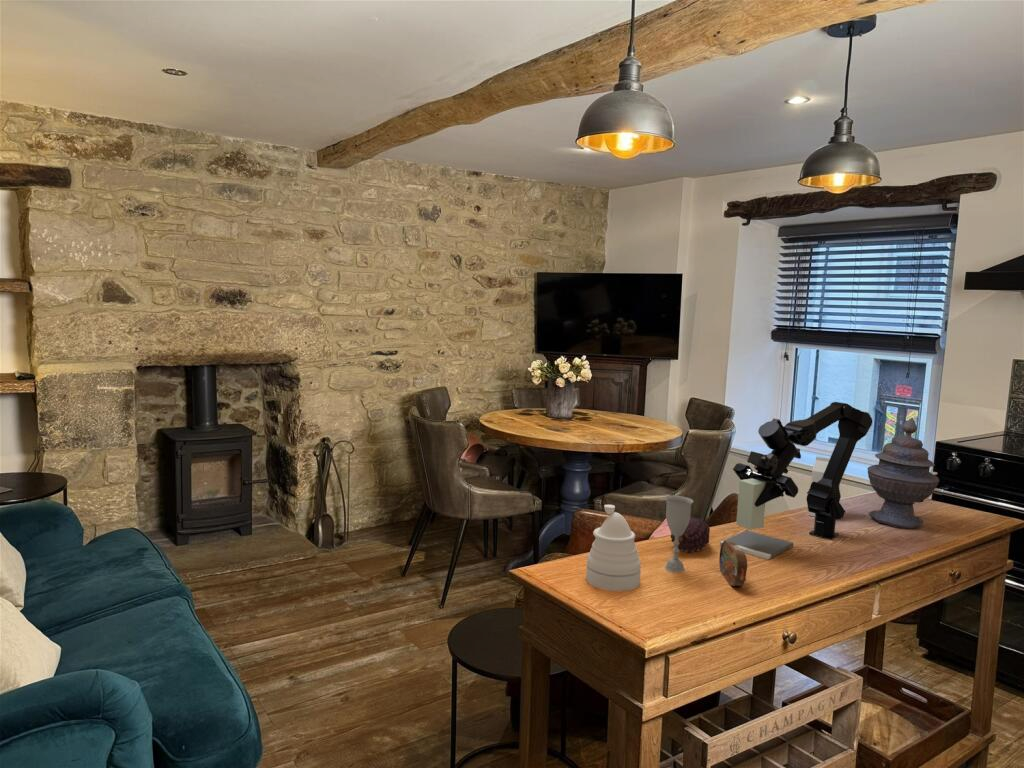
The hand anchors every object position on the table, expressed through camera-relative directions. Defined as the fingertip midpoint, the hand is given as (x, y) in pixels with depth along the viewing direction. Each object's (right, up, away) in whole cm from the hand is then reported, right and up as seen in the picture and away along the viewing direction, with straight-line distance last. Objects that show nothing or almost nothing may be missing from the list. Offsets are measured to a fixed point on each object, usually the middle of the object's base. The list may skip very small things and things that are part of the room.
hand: (747, 503), depth 192 cm
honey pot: (-40, -15, -22) cm, 48 cm away
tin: (-10, -16, -19) cm, 27 cm away
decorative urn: (+59, -12, +33) cm, 68 cm away
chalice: (-23, -15, -13) cm, 30 cm away
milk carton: (+37, -11, +37) cm, 53 cm away
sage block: (+1, -7, +1) cm, 7 cm away
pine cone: (-15, -13, +2) cm, 20 cm away
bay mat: (+4, -13, +6) cm, 15 cm away
